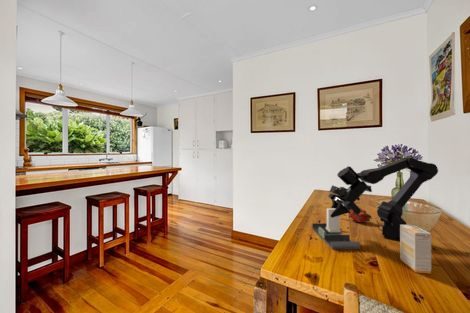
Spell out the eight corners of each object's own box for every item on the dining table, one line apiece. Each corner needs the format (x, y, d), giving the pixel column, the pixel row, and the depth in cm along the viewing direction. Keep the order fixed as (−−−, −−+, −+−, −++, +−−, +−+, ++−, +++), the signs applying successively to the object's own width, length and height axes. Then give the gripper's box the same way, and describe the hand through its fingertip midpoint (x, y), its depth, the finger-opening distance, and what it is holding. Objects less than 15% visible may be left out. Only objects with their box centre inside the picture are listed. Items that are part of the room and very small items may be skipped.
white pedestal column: (336, 228, 93) (336, 207, 93) (340, 232, 89) (340, 210, 89) (325, 228, 93) (325, 207, 93) (329, 232, 89) (329, 210, 89)
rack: (333, 228, 102) (333, 221, 102) (359, 249, 80) (359, 239, 80) (312, 228, 103) (312, 221, 102) (332, 249, 81) (332, 239, 81)
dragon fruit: (346, 221, 118) (370, 229, 109) (343, 215, 113) (367, 224, 104) (352, 208, 120) (375, 216, 111) (348, 202, 115) (372, 209, 106)
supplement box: (432, 274, 63) (432, 233, 63) (415, 272, 64) (415, 232, 64) (414, 260, 71) (414, 224, 71) (399, 259, 72) (399, 223, 72)
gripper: (331, 177, 100) (310, 199, 101) (353, 182, 82) (326, 209, 82) (347, 192, 100) (325, 214, 101) (372, 201, 82) (345, 228, 82)
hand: (330, 216), depth 91 cm, fingers closed on white pedestal column, 2 cm apart
